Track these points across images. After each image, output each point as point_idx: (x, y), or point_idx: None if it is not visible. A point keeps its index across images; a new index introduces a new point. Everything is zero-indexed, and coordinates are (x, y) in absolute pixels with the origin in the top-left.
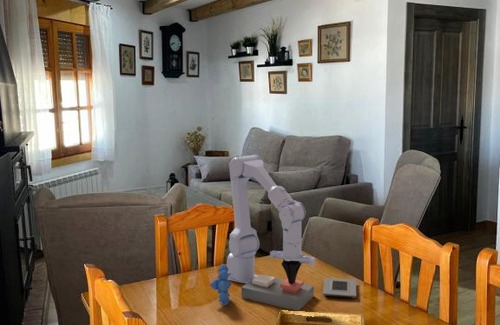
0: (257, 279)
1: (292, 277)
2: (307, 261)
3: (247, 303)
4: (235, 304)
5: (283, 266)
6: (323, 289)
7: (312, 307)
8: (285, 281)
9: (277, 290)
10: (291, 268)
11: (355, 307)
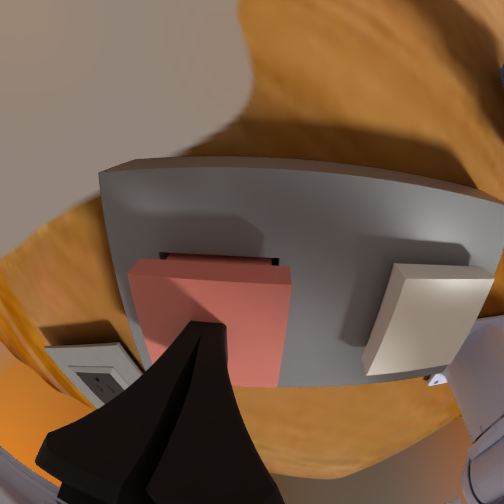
0: (469, 300)
1: (162, 358)
2: (2, 469)
3: (440, 130)
4: (477, 105)
5: (247, 473)
6: (137, 373)
7: (103, 233)
8: (266, 342)
9: (310, 253)
10: (114, 440)
11: (25, 295)
